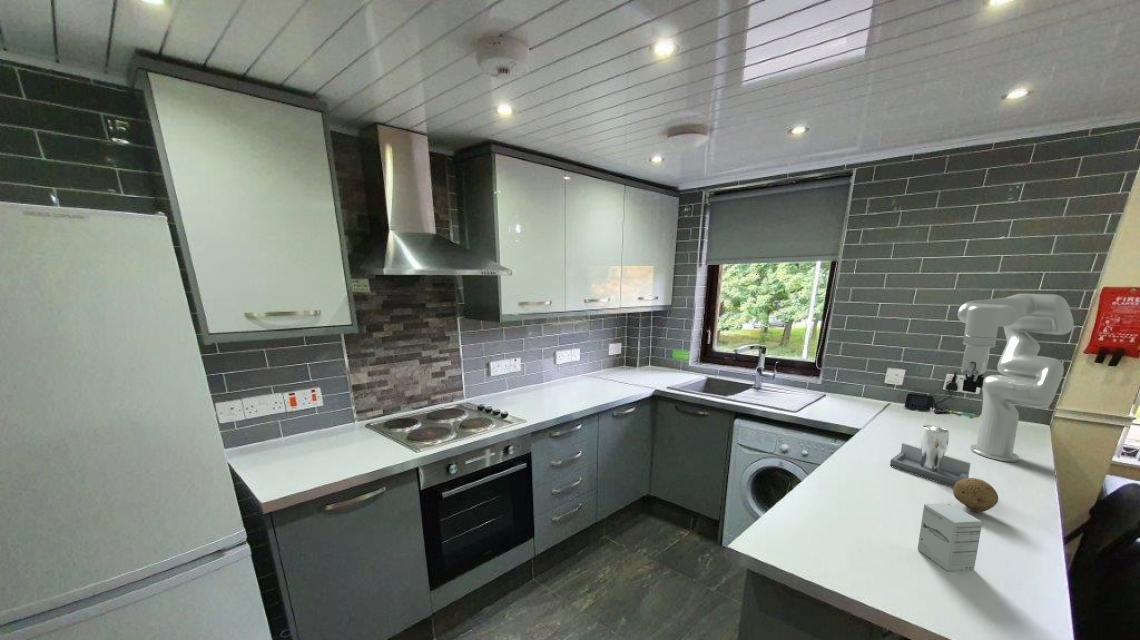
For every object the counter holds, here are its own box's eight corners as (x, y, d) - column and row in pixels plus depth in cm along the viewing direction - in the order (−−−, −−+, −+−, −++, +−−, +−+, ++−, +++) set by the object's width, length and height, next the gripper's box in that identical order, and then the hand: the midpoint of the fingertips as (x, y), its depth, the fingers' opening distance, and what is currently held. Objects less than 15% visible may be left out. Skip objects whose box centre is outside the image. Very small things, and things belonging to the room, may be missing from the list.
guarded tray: (901, 457, 144) (903, 442, 143) (968, 478, 129) (970, 462, 129) (890, 465, 138) (892, 450, 137) (959, 489, 123) (961, 472, 122)
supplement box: (915, 549, 95) (922, 503, 94) (942, 548, 96) (949, 501, 94) (947, 572, 88) (954, 522, 86) (976, 571, 88) (984, 521, 87)
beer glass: (949, 475, 130) (955, 433, 128) (925, 472, 131) (931, 431, 129) (934, 465, 136) (940, 425, 135) (912, 463, 138) (917, 423, 136)
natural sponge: (981, 523, 106) (986, 489, 105) (943, 504, 114) (947, 473, 113) (1002, 517, 108) (1007, 485, 107) (963, 500, 117) (967, 469, 116)
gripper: (969, 337, 138) (963, 382, 140) (957, 342, 128) (950, 390, 131) (1000, 340, 132) (993, 387, 134) (989, 345, 122) (982, 396, 124)
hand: (972, 389), depth 132 cm, fingers open, 9 cm apart
